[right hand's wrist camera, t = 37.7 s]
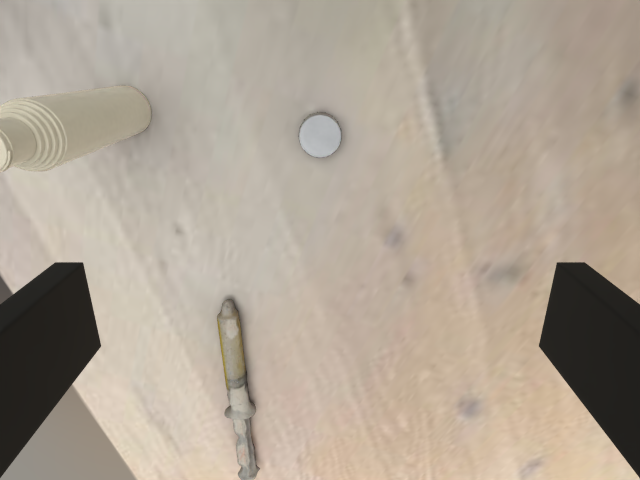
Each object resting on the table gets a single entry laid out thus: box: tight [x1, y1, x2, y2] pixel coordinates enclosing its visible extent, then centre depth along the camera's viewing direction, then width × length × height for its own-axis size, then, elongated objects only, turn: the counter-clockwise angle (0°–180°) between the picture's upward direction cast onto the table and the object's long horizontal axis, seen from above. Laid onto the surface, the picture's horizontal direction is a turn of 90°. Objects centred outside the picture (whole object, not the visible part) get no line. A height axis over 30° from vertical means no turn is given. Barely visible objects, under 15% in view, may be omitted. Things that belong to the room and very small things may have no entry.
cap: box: [299, 112, 341, 158], centre depth 42 cm, size 4×4×2 cm
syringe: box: [217, 299, 260, 480], centre depth 53 cm, size 25×4×3 cm, turn 0°
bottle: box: [0, 85, 151, 172], centre depth 33 cm, size 4×4×20 cm
